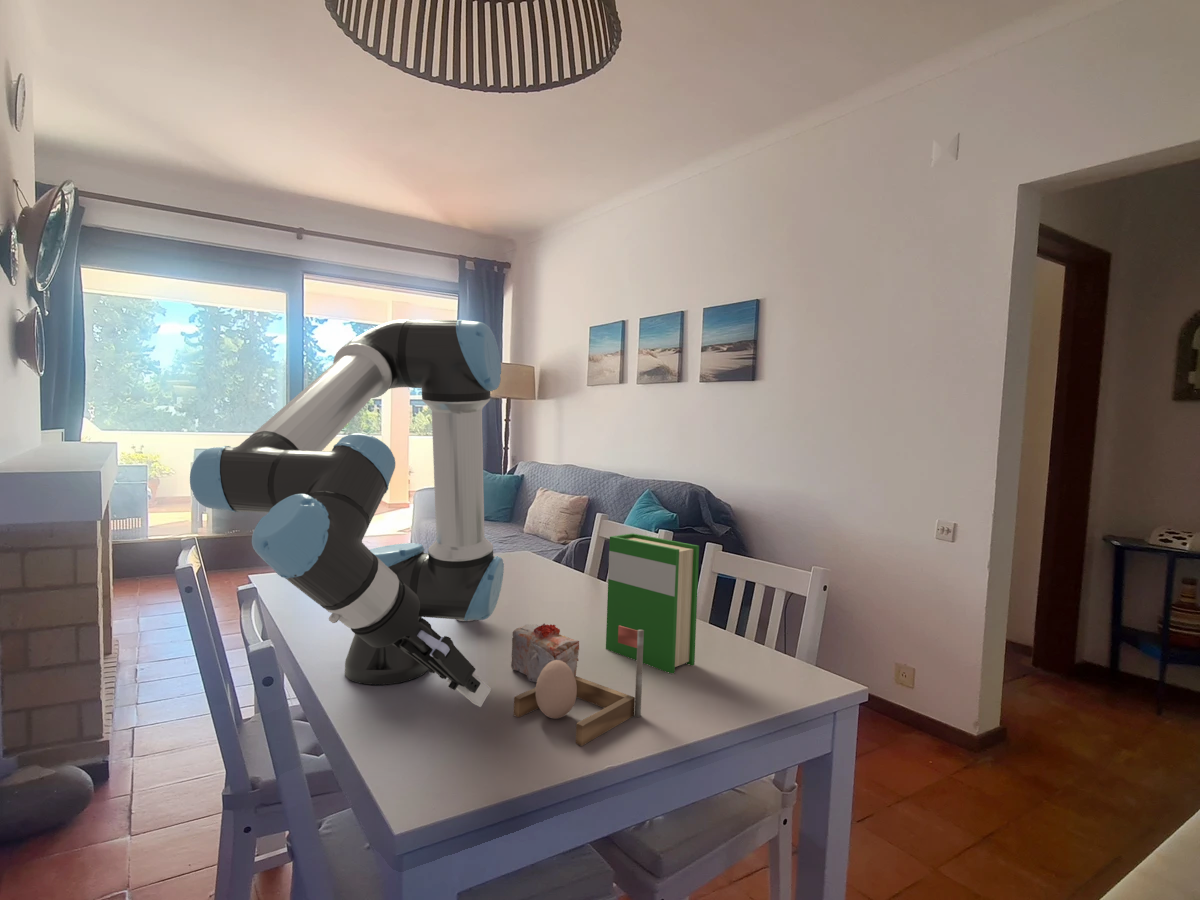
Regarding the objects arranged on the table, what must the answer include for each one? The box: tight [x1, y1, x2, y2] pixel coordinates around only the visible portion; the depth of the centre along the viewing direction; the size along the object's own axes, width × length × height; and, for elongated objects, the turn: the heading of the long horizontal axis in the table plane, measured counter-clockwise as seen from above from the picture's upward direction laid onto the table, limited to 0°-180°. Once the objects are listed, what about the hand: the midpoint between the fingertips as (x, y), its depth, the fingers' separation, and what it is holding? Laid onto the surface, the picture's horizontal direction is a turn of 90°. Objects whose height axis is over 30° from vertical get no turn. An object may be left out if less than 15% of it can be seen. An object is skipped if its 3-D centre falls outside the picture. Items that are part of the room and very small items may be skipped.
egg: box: [535, 660, 577, 719], centre depth 99 cm, size 7×7×9 cm
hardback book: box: [605, 532, 700, 674], centre depth 127 cm, size 18×7×24 cm, turn 45°
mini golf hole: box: [513, 626, 644, 747], centre depth 100 cm, size 15×14×14 cm
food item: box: [510, 623, 580, 683], centre depth 115 cm, size 14×8×10 cm, turn 47°
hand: (482, 696), depth 85 cm, fingers closed
